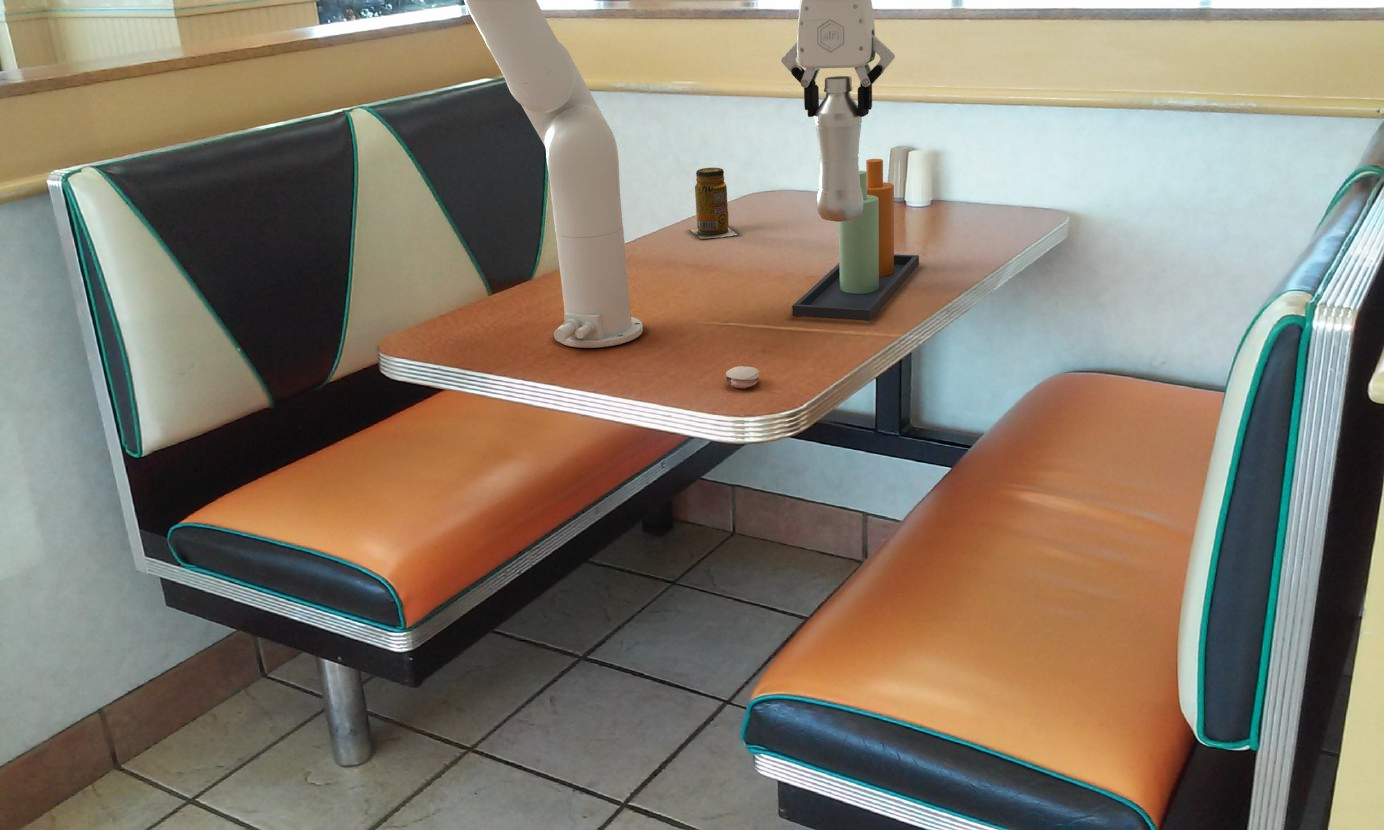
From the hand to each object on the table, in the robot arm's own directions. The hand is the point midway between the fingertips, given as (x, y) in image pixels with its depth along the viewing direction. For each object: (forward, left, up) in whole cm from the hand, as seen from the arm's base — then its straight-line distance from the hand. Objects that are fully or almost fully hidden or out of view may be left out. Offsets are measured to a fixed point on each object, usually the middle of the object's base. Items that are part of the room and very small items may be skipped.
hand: (838, 114), depth 163 cm
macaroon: (-32, +3, -29) cm, 44 cm away
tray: (+10, 0, -28) cm, 30 cm away
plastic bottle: (0, 0, -15) cm, 15 cm away
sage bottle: (+10, 0, -28) cm, 29 cm away
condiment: (+43, +38, -29) cm, 64 cm away
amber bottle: (+19, 0, -28) cm, 34 cm away
